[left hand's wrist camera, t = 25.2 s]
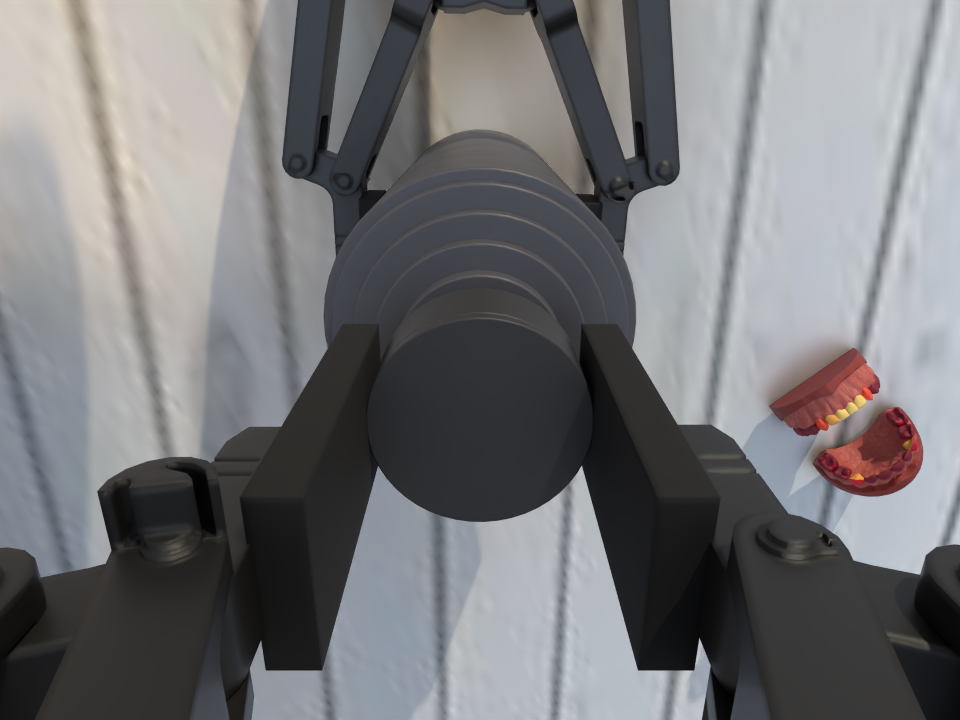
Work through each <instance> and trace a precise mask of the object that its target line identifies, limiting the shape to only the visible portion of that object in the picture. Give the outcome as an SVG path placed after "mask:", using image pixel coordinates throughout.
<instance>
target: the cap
mask: <svg viewBox="0 0 960 720" xmlns="http://www.w3.org/2000/svg"><path fill="white" fill-rule="evenodd" d="M366 416H367V431H368V441H369V445H370V448H371V451H372V454H373V456H374V458H375V460H376V462H377V464H378V466H379V468H380V469H381V471H382V472H383V474H384V475H385V477H386V478H387V479H388V480H389V482H390V483H391V484H392V485H393V486H394V487H395V488H396V489H397V490H398V491H399V492H400V493H401V494H403V495H404V496H405V497H406V498H408V499H409V500H411V501H412V502H414V503H415V504H417V505H418V506H420V507H422V508H424V509H426V510H428V511H430V512H433V513H435V514H438V515H441V516H444V517H448V518H452V519H456V520H463V521H470V522H488V521H498V520H503V519H508V518H513V517H516V516H519V515H522V514H525V513H527V512H530V511H532V510H534V509H536V508H538V507H540V506H541V505H543V504H545V503H546V502H548V501H550V500H551V499H552V498H553V497H555V496H556V495H557V494H559V493H560V492H561V491H562V490H563V489H564V488H565V487H566V486H567V485H568V484H569V483H570V482H571V480H572V479H573V478H574V476H575V475H576V474H577V472H578V471H579V469H580V467H581V466H582V464H583V462H584V460H585V458H586V456H587V453H588V451H589V448H590V444H591V440H592V432H593V417H594V408H593V403H592V398H591V394H590V391H589V388H588V385H587V383H586V380H585V377H584V374H583V372H582V369H581V366H580V363H579V361H578V358H577V355H576V353H575V350H574V347H573V345H572V343H571V341H570V339H569V337H568V335H567V334H566V332H565V331H564V330H563V328H562V327H561V325H560V324H559V323H558V322H557V321H556V320H555V319H554V318H553V317H552V316H551V315H550V314H549V313H548V312H547V311H545V310H544V309H543V308H542V307H540V306H539V305H537V304H535V303H534V302H532V301H530V300H528V299H526V298H524V297H522V296H519V295H517V294H514V293H510V292H507V291H503V290H497V289H490V288H471V289H462V290H458V291H453V292H449V293H446V294H443V295H441V296H438V297H436V298H434V299H432V300H430V301H428V302H426V303H424V304H423V305H421V306H420V307H419V308H417V309H416V310H414V311H413V312H412V313H411V314H410V315H409V316H408V317H407V318H406V319H405V320H404V321H403V322H402V323H401V324H400V325H399V327H398V328H397V329H396V331H395V332H394V334H393V335H392V337H391V339H390V340H389V343H388V345H387V347H386V350H385V352H384V355H383V357H382V360H381V363H380V366H379V368H378V371H377V374H376V376H375V379H374V382H373V385H372V387H371V390H370V394H369V398H368V402H367V410H366Z"/></svg>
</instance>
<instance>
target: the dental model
mask: <svg viewBox="0 0 960 720" xmlns="http://www.w3.org/2000/svg"><path fill="white" fill-rule="evenodd" d="M866 363H867V362H866V360H865V359H864V358H863V356H862V355H861V354H860V353H859V352H858V350H857V349H854V348H852V349H851V350H850V351H848V352H847V353H845V354H844V355H842V356H841V357H839V358H838V359H836V360H835V361H833V362H832V363H831V364H829V365H828V366H826V367H825V368H823V369H822V370H820V371H819V372H818V373H816V374H815V375H813V376H812V377H810V378H809V379H807V380H806V381H805V382H803V383H802V384H800V385H799V386H797V387H796V388H794V389H793V390H792V391H790V392H789V393H787V394H786V395H784V396H783V397H782V398H780V399H779V400H777V401H776V402H775V403H773V404H772V405H770V406H769V407H770V408H771V409H772V411H773V412H774V413H775V414H776V415H777V417H778V418H779V419H780V420H781V421H782V420H784V421H785V422H786V423H787V425H788V426H789V427H792V428H793V429H794V431H795V432H796V433H797V434H798V435H800V436H809V435H816V434H817V433H818V431H819V430H820V429H822V430H826V431H827V430H828V427H829V425H831V426H832V425H835V424H837V423H838V422H840V420H844V419H846V418H847V417H849V416H850V415H851V414H853V413H855V412H856V411H857V410H858V408H861V407H862V406H864V405H865V404H866V400H873V396H872V394H875V393H878V392H879V388H880V381H879V378H878V377H877V376H876V375H875V374H874V371H873V370H872V369H871V368H870V367H869V366H868V365H867V364H866ZM865 399H866V400H865ZM853 402H854V403H853ZM856 406H857V407H858V408H857V407H856ZM845 409H846V410H847V411H848V412H847V411H846V410H845ZM848 413H849V414H850V415H849V414H848ZM835 414H836V415H837V416H838V417H837V416H836V415H835ZM828 424H829V425H828ZM922 461H923V446H922V442H921V438H920V436H919V434H918V432H917V430H916V428H915V426H914V424H913V422H912V421H911V419H910V418H909V417H908V416H907V414H906V413H905V412H904V411H903V410H902V409H901V408H899V407H895V408H890V409H887V410H885V411H883V412H882V413H881V414H879V416H878V417H877V420H876V421H875V423H874V424H873V425H872V427H871V428H870V429H869V430H868V431H867V432H866V433H864V434H863V435H862V436H861V437H859V438H858V439H856V440H854V441H853V442H851V443H849V444H847V445H845V446H842V447H839V448H835V449H826V450H825V451H823V452H821V453H820V454H819V455H818V456H817V458H816V459H815V460H814V462H813V465H814V467H815V468H816V469H817V471H818V472H819V473H820V474H821V475H822V476H823V477H824V478H825V479H826V480H827V481H829V482H830V483H831V484H833V485H834V486H836V487H838V488H839V489H841V490H844V491H846V492H849V493H852V494H855V495H861V496H869V497H871V496H883V495H888V494H892V493H894V492H897V491H899V490H901V489H902V488H904V487H905V486H907V485H908V484H909V483H910V482H911V481H912V480H913V479H914V478H915V477H916V475H917V474H918V472H919V470H920V468H921V465H922Z"/></svg>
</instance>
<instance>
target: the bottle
mask: <svg viewBox="0 0 960 720" xmlns="http://www.w3.org/2000/svg"><path fill="white" fill-rule="evenodd" d="M471 288H490V289H497V290H503V291H507V292H510V293H514V294H517V295H519V296H522V297H524V298H526V299H528V300H530V301H532V302H534V303H535V304H537V305H539V306H540V307H542V308H543V309H544V310H545V311H547V312H548V313H549V314H550V315H551V316H552V317H553V318H554V319H555V320H556V321H557V322H558V323H559V324H560V325H561V327H562V328H563V330H564V331H565V332H566V334H567V335H568V337H569V339H570V341H571V343H572V345H573V347H574V350H575V353H576V355H577V358H578V361H579V356H580V339H581V324H618V326H619V327H620V329H621V331H622V332H623V334H624V336H625V337H626V339H627V341H628V342H629V344H630V346H631V348H632V346H633V342H634V335H635V326H636V303H635V296H634V290H633V284H632V280H631V277H630V274H629V270H628V267H627V264H626V262H625V260H624V257H623V255H622V253H621V251H620V249H619V247H618V245H617V243H616V242H615V240H614V239H613V237H612V236H611V234H610V233H609V231H608V230H607V228H606V227H605V226H604V225H603V224H602V223H601V221H600V220H599V219H598V218H597V217H596V216H595V215H594V214H593V212H592V211H591V210H590V209H589V208H588V207H587V206H586V205H585V204H584V203H583V202H582V201H581V200H580V199H579V198H578V196H577V195H576V194H575V193H574V192H573V191H572V190H571V189H570V188H569V187H568V186H567V185H566V184H565V183H564V182H563V181H562V179H561V178H560V177H559V176H558V175H557V174H556V173H555V172H554V171H553V170H552V169H551V168H550V167H549V166H548V165H547V164H546V163H545V161H544V160H543V159H542V158H541V157H540V156H539V155H538V154H537V153H536V152H535V151H534V150H532V149H531V148H530V147H529V146H528V145H526V144H525V143H523V142H522V141H520V140H518V139H516V138H514V137H512V136H510V135H507V134H504V133H500V132H496V131H490V130H470V131H464V132H460V133H456V134H453V135H451V136H448V137H446V138H444V139H442V140H440V141H438V142H437V143H435V144H434V145H432V146H431V147H430V148H429V149H427V150H426V151H425V152H424V153H423V154H422V155H421V156H420V157H419V158H418V159H417V160H416V161H415V163H414V164H413V165H412V166H411V167H410V168H409V169H408V170H407V171H406V172H405V173H404V174H403V175H402V176H401V177H400V178H399V180H398V181H397V182H396V183H395V184H394V185H393V186H392V187H391V188H390V189H389V190H388V191H387V192H386V193H385V194H384V195H383V196H382V198H381V199H380V200H379V201H378V202H377V203H376V204H375V205H374V206H373V207H372V208H371V209H370V210H369V211H368V212H367V213H366V215H365V216H364V217H363V218H362V219H361V220H360V221H359V222H358V223H357V225H356V226H355V227H354V229H353V230H352V231H351V233H350V234H349V236H348V237H347V238H346V240H345V242H344V243H343V245H342V247H341V249H340V251H339V253H338V255H337V257H336V259H335V262H334V265H333V267H332V270H331V273H330V276H329V280H328V284H327V289H326V294H325V304H324V326H325V337H326V342H327V346H328V348H329V346H330V344H331V343H332V341H333V339H334V338H335V336H336V334H337V333H338V331H339V329H340V327H341V326H342V324H379V338H380V355H381V360H382V357H383V355H384V352H385V350H386V347H387V345H388V343H389V340H390V339H391V337H392V335H393V334H394V332H395V331H396V329H397V328H398V327H399V325H400V324H401V323H402V322H403V321H404V320H405V319H406V318H407V317H408V316H409V315H410V314H411V313H412V312H413V311H414V310H416V309H417V308H419V307H420V306H421V305H423V304H424V303H426V302H428V301H430V300H432V299H434V298H436V297H438V296H441V295H443V294H446V293H449V292H453V291H458V290H462V289H471Z"/></svg>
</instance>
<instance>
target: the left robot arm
mask: <svg viewBox="0 0 960 720" xmlns="http://www.w3.org/2000/svg"><path fill="white" fill-rule="evenodd" d="M380 363H381V355H380V338H379V324H342V326H341V327H340V329H339V331H338V333H337V334H336V336H335V338H334V339H333V341H332V343H331V344H330V346H329V348H328V349H327V351H326V353H325V354H324V356H323V358H322V359H321V361H320V363H319V364H318V366H317V368H316V370H315V371H314V373H313V375H312V376H311V378H310V380H309V381H308V383H307V385H306V386H305V388H304V390H303V391H302V393H301V395H300V396H299V398H298V400H297V401H296V403H295V405H294V407H293V408H292V410H291V412H290V413H289V415H288V417H287V418H286V420H285V422H284V423H283V425H282V427H249V428H247V429H245V430H244V431H242V432H241V433H239V434H238V435H236V436H235V437H233V438H231V439H230V440H228V441H227V442H226V443H225V445H224V446H223V447H222V449H221V450H220V451H219V453H218V454H217V456H216V457H215V461H214V462H211V463H209V462H208V461H206V460H201V459H197V458H193V457H169V458H163V459H158V460H153V461H147V462H145V463H142V464H139V465H136V466H133V467H131V468H128V469H125V470H124V471H122V472H120V473H119V474H117V475H115V476H114V477H112V478H110V479H108V480H107V482H106V483H105V484H104V485H103V486H102V487H101V488H100V489H99V490H98V491H97V492H98V496H99V501H100V505H101V509H102V513H103V517H104V521H105V525H106V529H107V534H108V538H109V542H110V546H111V550H112V551H111V553H110V555H109V558H108V560H107V562H106V564H103V565H99V566H95V567H92V568H87V569H82V570H77V571H72V572H67V573H62V574H57V575H52V576H47V577H42V578H41V577H40V574H39V570H38V567H37V564H36V560H35V558H34V557H33V556H31V555H30V554H29V553H28V552H26V551H25V550H19V549H13V548H0V720H251V719H252V710H253V701H254V693H253V686H252V680H251V674H250V666H251V664H252V661H253V659H254V656H255V654H256V651H257V649H258V646H259V644H260V641H261V642H262V649H263V655H264V662H265V668H266V670H322V669H323V665H324V661H325V658H326V654H327V650H328V647H329V643H330V639H331V636H332V632H333V628H334V625H335V621H336V617H337V614H338V610H339V607H340V603H341V599H342V596H343V592H344V588H345V585H346V581H347V577H348V574H349V570H350V566H351V563H352V559H353V555H354V552H355V548H356V544H357V541H358V537H359V533H360V530H361V526H362V522H363V519H364V515H365V511H366V508H367V504H368V500H369V497H370V493H371V490H372V486H373V482H374V479H375V475H376V471H377V468H378V464H377V462H376V460H375V458H374V456H373V454H372V451H371V448H370V445H369V441H368V431H367V416H366V410H367V402H368V398H369V394H370V390H371V387H372V385H373V382H374V379H375V376H376V374H377V371H378V368H379V366H380ZM579 363H580V366H581V369H582V372H583V374H584V377H585V380H586V383H587V385H588V388H589V391H590V394H591V398H592V403H593V408H594V417H593V432H592V440H591V444H590V448H589V451H588V453H587V456H586V458H585V460H584V462H583V464H582V467H583V471H584V475H585V478H586V482H587V486H588V489H589V493H590V497H591V500H592V504H593V507H594V511H595V515H596V518H597V522H598V526H599V529H600V533H601V537H602V540H603V544H604V548H605V551H606V555H607V559H608V562H609V566H610V570H611V573H612V577H613V581H614V584H615V588H616V592H617V595H618V599H619V603H620V606H621V610H622V614H623V617H624V621H625V624H626V628H627V632H628V635H629V639H630V643H631V646H632V650H633V654H634V657H635V661H636V665H637V668H638V670H694V669H695V662H696V656H697V649H698V643H699V638H700V640H701V642H702V645H703V647H704V650H705V652H706V655H707V657H708V660H709V662H710V665H711V668H710V674H709V680H708V686H707V692H706V698H705V704H704V710H703V716H702V720H960V545H948V546H941V547H936V548H935V549H933V550H932V551H931V552H930V553H928V554H927V555H926V557H925V561H924V564H923V567H922V571H921V574H920V575H918V574H913V573H908V572H903V571H898V570H893V569H888V568H883V567H878V566H873V565H869V564H865V563H861V562H857V561H853V559H852V556H851V554H850V552H849V550H848V549H847V547H846V546H845V545H844V544H843V542H842V541H841V540H840V538H839V537H838V536H836V535H835V534H833V533H832V532H831V531H829V530H828V529H826V528H825V527H823V526H822V525H820V524H817V523H815V522H813V521H810V520H808V519H805V518H803V517H800V516H795V515H791V514H788V513H787V511H786V510H785V509H784V507H783V506H782V505H781V503H780V502H779V500H778V499H777V498H776V496H775V495H774V494H773V492H772V491H771V490H770V488H769V487H768V485H767V484H766V483H765V481H764V480H763V479H762V477H761V476H760V475H759V474H756V469H755V468H754V466H753V465H752V464H751V462H750V461H749V459H746V455H745V454H744V453H743V451H742V450H741V449H740V447H739V446H738V444H737V443H736V442H735V440H734V439H733V438H731V437H729V436H728V435H726V434H725V433H723V432H722V431H720V430H718V429H717V428H715V427H714V426H712V425H677V423H676V421H675V420H674V418H673V416H672V415H671V413H670V411H669V410H668V408H667V406H666V405H665V403H664V401H663V400H662V398H661V396H660V395H659V393H658V391H657V390H656V388H655V386H654V384H653V383H652V381H651V379H650V378H649V376H648V374H647V373H646V371H645V369H644V368H643V366H642V364H641V363H640V361H639V359H638V358H637V356H636V354H635V353H634V351H633V349H632V348H631V346H630V344H629V342H628V341H627V339H626V337H625V336H624V334H623V332H622V331H621V329H620V327H619V326H618V324H581V339H580V356H579Z"/></svg>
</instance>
